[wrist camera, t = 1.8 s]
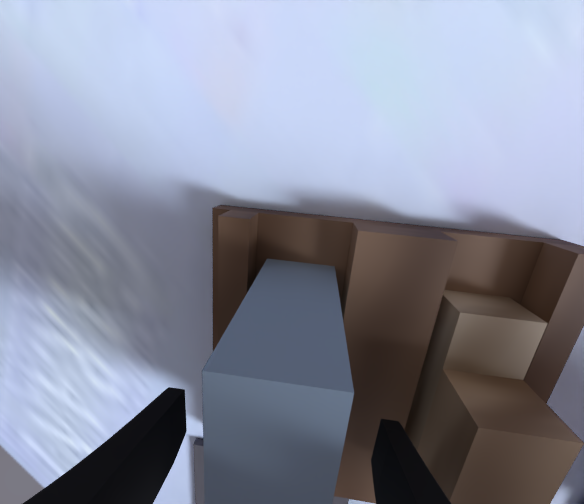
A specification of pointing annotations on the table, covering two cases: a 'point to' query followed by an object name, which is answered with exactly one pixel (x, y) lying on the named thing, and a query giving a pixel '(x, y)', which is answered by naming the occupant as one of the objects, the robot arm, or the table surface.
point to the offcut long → (474, 346)
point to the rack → (400, 301)
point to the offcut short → (495, 441)
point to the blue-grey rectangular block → (278, 392)
